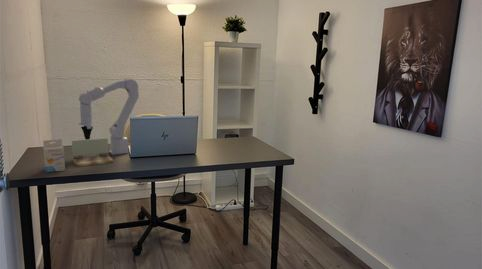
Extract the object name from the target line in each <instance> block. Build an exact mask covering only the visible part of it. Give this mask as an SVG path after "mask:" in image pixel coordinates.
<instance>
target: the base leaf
mask: <svg viewBox="0 0 482 269" xmlns="http://www.w3.org/2000/svg"><path fill="white" fill-rule="evenodd" d="M98 154H99V157H91V158H84V155H77V156H73V155H72V158H73V159H72V160H73V163H74V164H75V166H76V167H85V166H93V165H102V164H111V163H114V159H113V158H112V157H110V155H109V152H106V153H98Z"/></svg>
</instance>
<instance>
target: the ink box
mask: <svg viewBox="0 0 482 269" xmlns="http://www.w3.org/2000/svg"><path fill="white" fill-rule="evenodd" d="M43 162H44V163H43V165H44V170H45V171H44V172H45V173H52V172H62V171H65V170H66V167H65V166H66V164H65V163H66V162H65V148H64V146H63V140H62V139H60V138H59V139H49V140H45V139H44V140H43Z"/></svg>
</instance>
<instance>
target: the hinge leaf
mask: <svg viewBox="0 0 482 269" xmlns="http://www.w3.org/2000/svg"><path fill="white" fill-rule="evenodd" d="M71 147H72V148H71V150H72V157H73V156H82V155H83V158H92V157H99V154H101V153H109V140H108V137H104V138H94V139H93V138H92V139H87V140H86V139H81V140H71Z"/></svg>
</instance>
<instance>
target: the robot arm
mask: <svg viewBox="0 0 482 269" xmlns="http://www.w3.org/2000/svg"><path fill="white" fill-rule="evenodd" d="M118 89H123V90H124V89H125V91H126V92H127V95H128V97H127V98H126V101H125V104H124V105H123V107H122V109H121V111H120V114H119V115H118V118H117V119H116V121H114V123H113V124H112V126H110V128H109V133H110V135H111V136H110V150H108V153H110V154H111V155H122V154H129V139H128V137H127V136H124V135H125V129H126V124H127V122H128V120H129V118H130V116H131V114H132V112H133V109H134V107H135V106H136V104H137V102H138V99H139V97H140V96H139V95H140V94H139V84H138V82H137V81H136V80H135V79H133V78H128V77H126V78H124V79H120V80H119V79H118V80H117V81H114V82H112V83H110V84H108V85H107V86H104V87H101V86H96V87H94V89H92V90H87V91H86V92H83V93H80V95H79V97H78V100H79V102H80V103H79V105H80V107H79V109H80V111H79V112H80V122H79V123H78V125H79V126H80V129H81V130H82V133H83V135H84V136H83V137H84V140H91V139H90V138H91V133H92V130H93V129H94V127H93V114H92V113H93V110H92V103H93V102H94V101H98V100H99V99H102V98H103V97H105V95H106V94H107V93H111V92H112V91H116V90H118Z"/></svg>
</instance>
